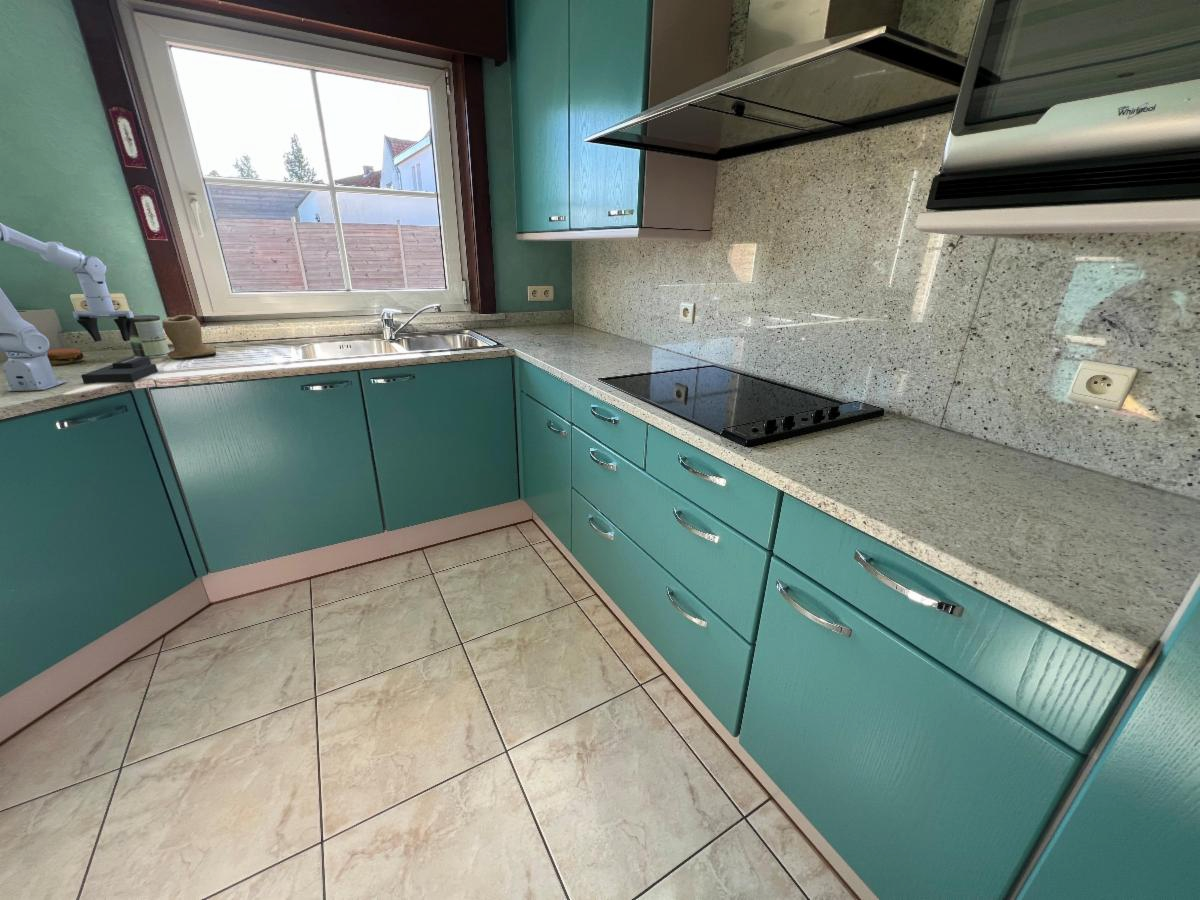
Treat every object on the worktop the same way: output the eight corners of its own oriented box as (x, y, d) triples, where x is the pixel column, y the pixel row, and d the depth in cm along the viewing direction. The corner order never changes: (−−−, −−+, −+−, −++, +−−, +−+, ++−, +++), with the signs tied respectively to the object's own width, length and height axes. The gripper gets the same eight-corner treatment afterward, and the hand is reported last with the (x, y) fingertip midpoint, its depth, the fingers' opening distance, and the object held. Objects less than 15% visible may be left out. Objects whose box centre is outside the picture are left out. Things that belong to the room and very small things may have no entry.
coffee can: (128, 359, 175) (114, 318, 170) (143, 353, 184) (131, 315, 179) (163, 358, 178) (150, 318, 173) (176, 352, 187) (165, 315, 182)
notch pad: (133, 381, 147) (130, 373, 146) (83, 383, 144) (80, 375, 143) (158, 371, 160) (155, 363, 159) (113, 372, 157) (110, 365, 156)
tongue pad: (135, 375, 154) (131, 362, 152) (116, 376, 153) (111, 363, 151) (152, 368, 163) (148, 356, 161) (134, 369, 162) (130, 356, 160)
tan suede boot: (173, 362, 172) (160, 318, 167) (165, 357, 180) (153, 315, 174) (225, 356, 183) (214, 315, 178) (215, 352, 190) (205, 312, 185)
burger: (37, 366, 162) (31, 351, 160) (57, 360, 170) (51, 347, 169) (74, 365, 165) (69, 351, 163) (92, 359, 173) (87, 346, 171)
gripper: (133, 295, 158) (146, 338, 163) (77, 295, 154) (93, 339, 159) (119, 297, 151) (134, 342, 156) (61, 297, 148) (78, 342, 153)
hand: (112, 340), depth 157 cm, fingers open, 7 cm apart
